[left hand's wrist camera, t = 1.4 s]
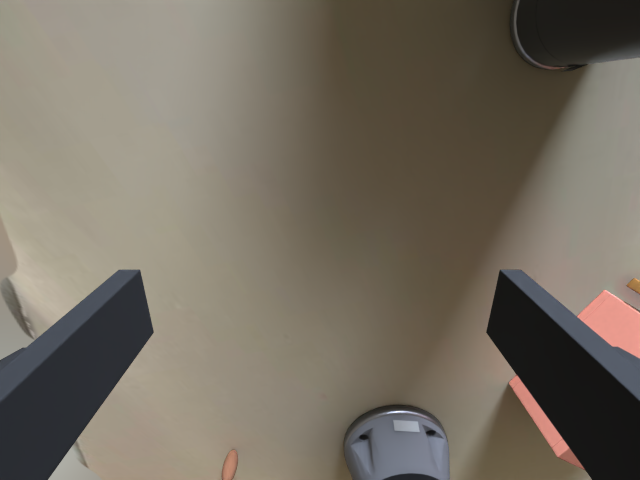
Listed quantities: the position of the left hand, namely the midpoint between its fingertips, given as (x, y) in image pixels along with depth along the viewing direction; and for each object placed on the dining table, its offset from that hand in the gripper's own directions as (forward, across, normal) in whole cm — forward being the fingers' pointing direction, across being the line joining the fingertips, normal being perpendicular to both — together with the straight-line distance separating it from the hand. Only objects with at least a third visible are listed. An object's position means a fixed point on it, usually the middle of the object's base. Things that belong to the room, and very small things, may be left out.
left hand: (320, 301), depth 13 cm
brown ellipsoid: (+26, +13, +43) cm, 52 cm away
